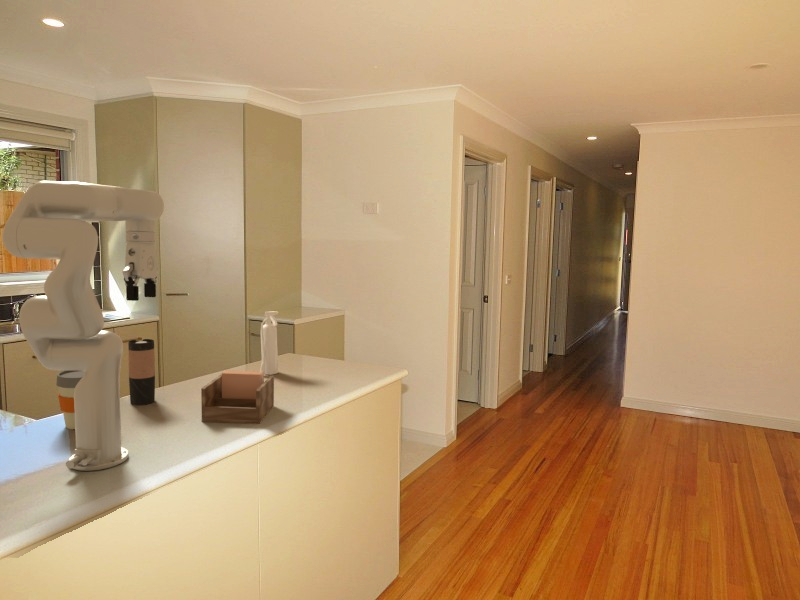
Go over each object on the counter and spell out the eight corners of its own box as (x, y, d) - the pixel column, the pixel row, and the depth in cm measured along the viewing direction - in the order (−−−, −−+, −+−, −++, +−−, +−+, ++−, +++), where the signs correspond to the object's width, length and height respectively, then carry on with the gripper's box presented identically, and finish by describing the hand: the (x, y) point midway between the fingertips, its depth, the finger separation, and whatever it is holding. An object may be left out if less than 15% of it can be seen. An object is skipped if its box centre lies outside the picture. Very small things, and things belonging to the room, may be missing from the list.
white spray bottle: (251, 375, 214) (251, 312, 211) (270, 369, 225) (270, 309, 222) (265, 377, 212) (266, 314, 209) (284, 371, 223) (284, 310, 220)
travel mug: (145, 406, 172) (144, 344, 170) (124, 404, 174) (122, 342, 172) (160, 399, 180) (159, 339, 178) (139, 397, 181) (138, 338, 179)
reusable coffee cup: (119, 420, 159) (117, 369, 158) (83, 434, 147) (81, 380, 146) (84, 414, 163) (83, 365, 161) (46, 428, 151) (44, 375, 149)
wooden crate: (259, 423, 160) (259, 390, 159) (201, 421, 160) (201, 388, 159) (273, 406, 177) (273, 375, 176) (221, 404, 177) (221, 374, 176)
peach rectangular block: (260, 409, 170) (260, 374, 169) (221, 407, 170) (221, 373, 169) (263, 405, 174) (263, 371, 173) (226, 403, 174) (226, 370, 173)
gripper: (137, 238, 145) (138, 302, 147) (168, 238, 162) (168, 296, 164) (110, 237, 145) (111, 301, 147) (143, 238, 162) (144, 295, 164)
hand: (141, 298), depth 155 cm, fingers open, 9 cm apart
